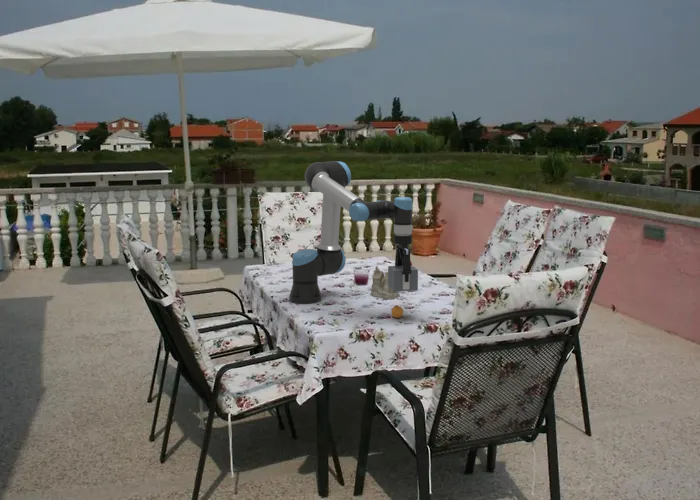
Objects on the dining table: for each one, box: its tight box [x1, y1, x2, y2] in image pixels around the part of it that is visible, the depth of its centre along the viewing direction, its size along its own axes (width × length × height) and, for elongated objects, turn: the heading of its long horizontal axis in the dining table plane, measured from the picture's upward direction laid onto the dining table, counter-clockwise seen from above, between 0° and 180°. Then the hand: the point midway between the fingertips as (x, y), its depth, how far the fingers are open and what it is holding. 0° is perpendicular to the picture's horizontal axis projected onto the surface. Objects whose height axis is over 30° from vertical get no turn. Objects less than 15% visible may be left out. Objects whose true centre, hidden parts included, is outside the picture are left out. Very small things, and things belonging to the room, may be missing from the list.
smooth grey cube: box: [387, 264, 419, 292], centre depth 280 cm, size 10×10×9 cm
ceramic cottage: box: [369, 265, 401, 300], centre depth 323 cm, size 16×16×15 cm
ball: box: [391, 305, 404, 319], centre depth 282 cm, size 5×5×5 cm
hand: (402, 286), depth 281 cm, fingers closed on smooth grey cube, 10 cm apart
